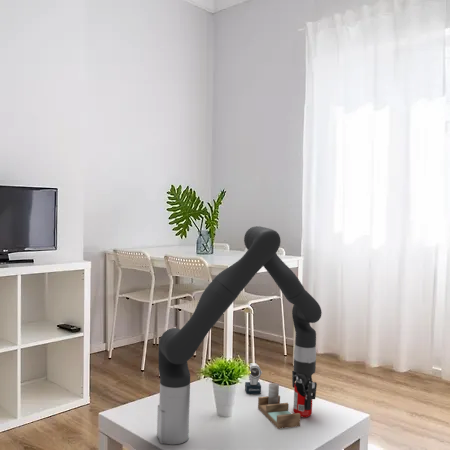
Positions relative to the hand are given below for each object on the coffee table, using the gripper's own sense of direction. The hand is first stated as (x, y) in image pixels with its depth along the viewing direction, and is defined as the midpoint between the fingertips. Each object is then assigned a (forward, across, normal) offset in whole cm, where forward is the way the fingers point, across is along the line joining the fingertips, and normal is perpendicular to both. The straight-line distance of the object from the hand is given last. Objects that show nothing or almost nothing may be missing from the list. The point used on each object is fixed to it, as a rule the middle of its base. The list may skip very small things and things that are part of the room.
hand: (302, 405), depth 177 cm
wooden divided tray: (+3, 0, -9) cm, 10 cm away
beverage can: (+3, 0, 0) cm, 3 cm away
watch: (+3, -24, -9) cm, 26 cm away
